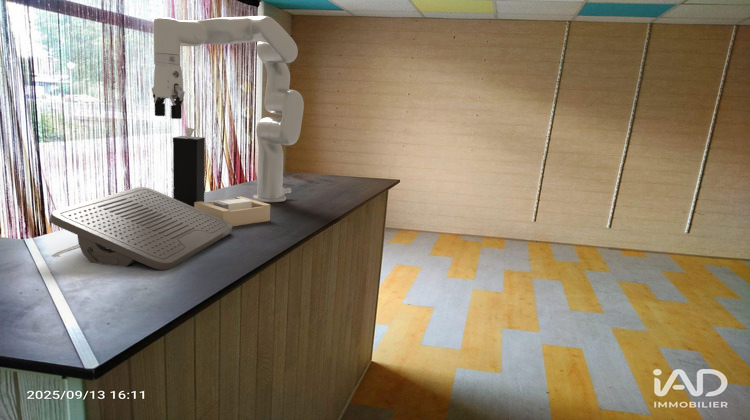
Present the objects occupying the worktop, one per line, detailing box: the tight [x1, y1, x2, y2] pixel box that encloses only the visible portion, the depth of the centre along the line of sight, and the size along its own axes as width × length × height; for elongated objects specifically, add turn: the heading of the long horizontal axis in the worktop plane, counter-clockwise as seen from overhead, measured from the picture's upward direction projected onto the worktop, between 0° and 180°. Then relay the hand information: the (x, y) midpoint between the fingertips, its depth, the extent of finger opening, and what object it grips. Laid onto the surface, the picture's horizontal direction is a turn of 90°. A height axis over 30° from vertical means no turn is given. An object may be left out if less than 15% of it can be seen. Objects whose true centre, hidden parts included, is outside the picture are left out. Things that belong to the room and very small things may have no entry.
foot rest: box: [49, 186, 234, 271], centre depth 138 cm, size 39×30×13 cm
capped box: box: [213, 198, 252, 211], centre depth 171 cm, size 11×5×6 cm, turn 141°
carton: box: [194, 196, 271, 227], centre depth 171 cm, size 18×15×6 cm
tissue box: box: [172, 126, 206, 207], centre depth 179 cm, size 8×8×28 cm
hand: (168, 117), depth 167 cm, fingers open, 9 cm apart
